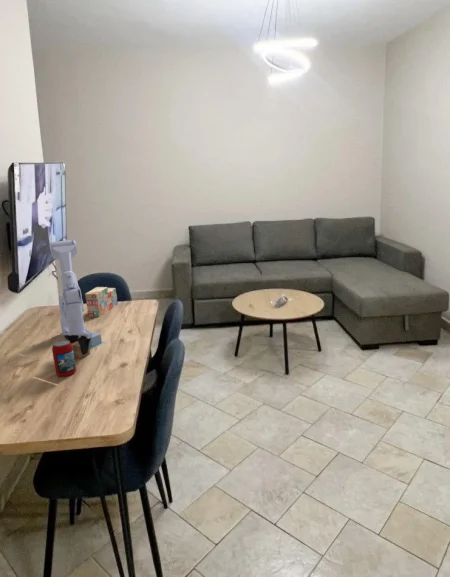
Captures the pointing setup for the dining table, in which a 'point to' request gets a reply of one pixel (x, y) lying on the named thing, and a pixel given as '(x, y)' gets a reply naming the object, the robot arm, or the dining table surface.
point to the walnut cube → (78, 350)
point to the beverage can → (63, 358)
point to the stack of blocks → (100, 301)
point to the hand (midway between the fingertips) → (80, 352)
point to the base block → (94, 339)
